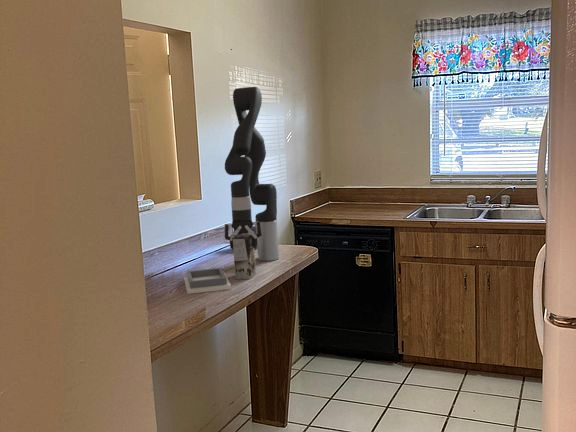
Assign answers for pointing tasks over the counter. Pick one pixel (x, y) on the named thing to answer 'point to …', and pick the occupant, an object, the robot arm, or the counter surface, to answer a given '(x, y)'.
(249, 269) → the coffee box
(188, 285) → the socket stand
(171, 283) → the counter surface
